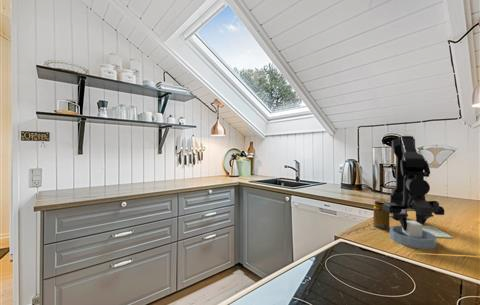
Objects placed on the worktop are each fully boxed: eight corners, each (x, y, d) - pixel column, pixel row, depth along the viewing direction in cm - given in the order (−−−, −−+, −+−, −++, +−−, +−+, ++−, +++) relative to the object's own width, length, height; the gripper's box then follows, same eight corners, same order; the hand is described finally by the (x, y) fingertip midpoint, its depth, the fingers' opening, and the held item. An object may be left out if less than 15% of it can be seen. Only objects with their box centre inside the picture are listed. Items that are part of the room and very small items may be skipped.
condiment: (374, 224, 105) (374, 198, 105) (396, 228, 100) (396, 202, 99) (370, 228, 100) (370, 201, 100) (393, 233, 94) (393, 205, 94)
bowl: (382, 233, 94) (383, 225, 94) (419, 235, 93) (419, 226, 92) (402, 249, 80) (402, 239, 80) (446, 251, 79) (446, 241, 79)
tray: (406, 227, 102) (406, 225, 101) (430, 228, 100) (430, 225, 100) (424, 238, 90) (424, 235, 90) (452, 239, 88) (452, 236, 88)
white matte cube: (402, 231, 89) (402, 220, 89) (414, 232, 88) (414, 220, 88) (409, 236, 84) (409, 224, 84) (422, 236, 84) (422, 224, 84)
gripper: (398, 194, 79) (397, 238, 80) (457, 195, 77) (456, 240, 77) (382, 188, 90) (381, 226, 91) (433, 189, 88) (432, 228, 88)
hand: (411, 230), depth 86 cm, fingers closed on white matte cube, 4 cm apart
